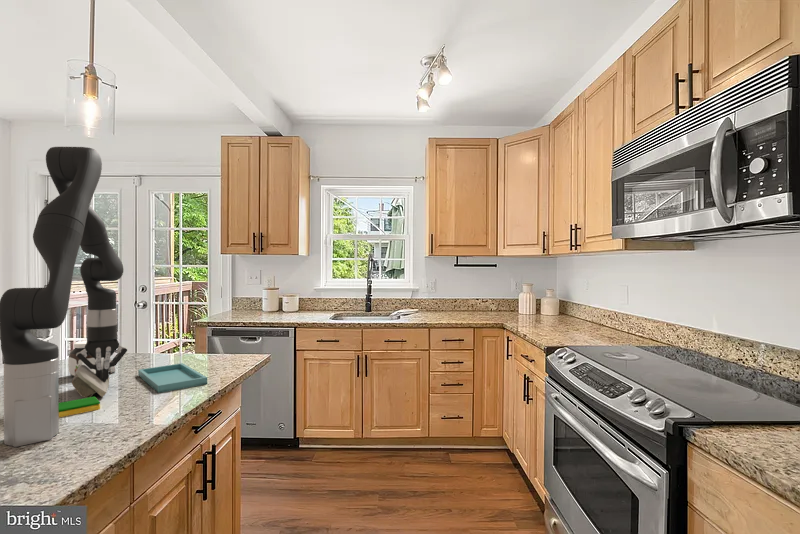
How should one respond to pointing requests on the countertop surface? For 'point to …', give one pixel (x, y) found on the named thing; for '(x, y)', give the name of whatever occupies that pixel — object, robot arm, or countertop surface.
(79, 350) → the spread jar
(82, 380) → the packaged product
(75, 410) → the dish sponge
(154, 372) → the tray
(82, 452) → the countertop surface
